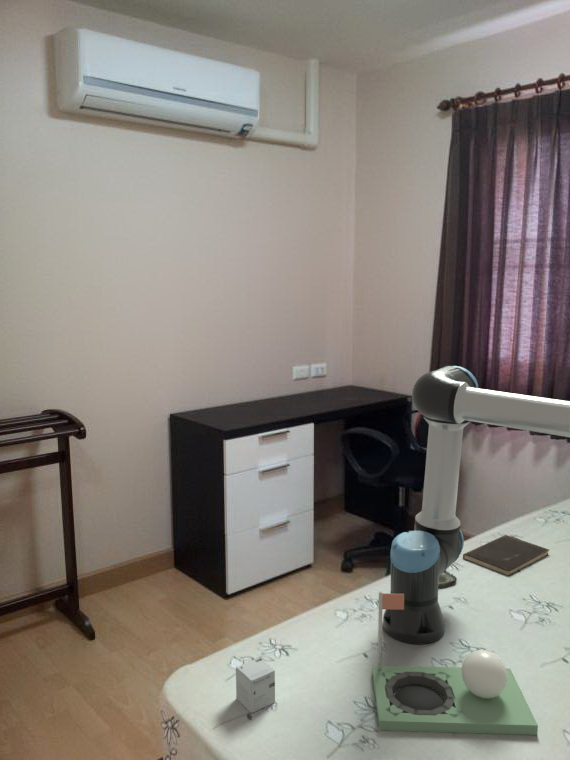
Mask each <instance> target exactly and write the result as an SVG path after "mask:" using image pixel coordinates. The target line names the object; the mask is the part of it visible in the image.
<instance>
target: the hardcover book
mask: <svg viewBox="0 0 570 760" xmlns="http://www.w3.org/2000/svg"><path fill="white" fill-rule="evenodd" d="M549 551H550V549H549V548H546V547H542V546H540V545H537V544H533V543H531V542H528V541H525V540H522V539H519V538H516V537H513V536H511V535H507V534H505V535H503V536H500V537H498V538H496V539H494V540H491V541H489V542H487V543H485V544H482V545H481V546H478V547H476V548H473V549H471V550H469V551H467V552H464V553H463V554H462V559H465V560H467V561H470V562H473V563H475V564H477V565H480V566H483V567H484V568H485V567H486V568H488V569H491V570H493V571H496V572H498V573H501V574H503V575H506V576H509V575H511V574H513V573H516V572H517V571H519V570H522V568H525V567H527V566H529V565H531V564H533V563H535V562H536V561H538V560H540V559H542V558H545V557H546V556H547V555H548V554H549Z"/></svg>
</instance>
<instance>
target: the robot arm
mask: <svg viewBox="0 0 570 760" xmlns="http://www.w3.org/2000/svg"><path fill="white" fill-rule="evenodd" d="M411 398H412V403H413V405H414V407H415V408H416V409H415V410H417V412H419V413H420V414H421V415H422V416H423V419H424V420H425V422H426V423H427V424H428V434H427V445H426V457H425V470H424V481H423V493H422V494H423V495H422V504H421V507H422V508H421V511H419V512H418V513H417V514H416V515H415V518H414V530H408V531H407V532H406V531H403V532H401V533H399V534H397V535H396V536H395V537H394V538H393V540H392V542H391V548H390V552H389V554H390V555H389V556H390V594H404V610H394V609H384V612H383V613H384V614H383V615H382V629H383V630H384V631H385V633H386V634H387V635H389V637H391V638H393V639H395V640H397V641H400V642H403V643H407V644H413V645H414V644H415V645H424V644H431V643H433V642H436V641H439V640H440V639H441V638H442V637H443V635H444V634H445V619H444V617H443V612H442V609H441V607H440V603H439V588H438V580H439V576H440V575H441V574H442V573H443V572H444V571H445V570H446V571H447V570H448V568H450V566H452V565H453V564H454V563H455V562H456V561H457V560H458V559H459V557H460V555H461V554H462V551H463V548H464V543H465V541H464V535H463V532H462V530H461V520H460V519H459V517H457V516H456V509H457V501H458V499H457V498H458V492H459V491H458V489H459V488H458V487H459V479H460V468H461V456H462V446H463V436H464V435H463V434H464V428H465V427H466V426H467V425H469V424H471V422H474V423H480V424H487V425H493V426H498V427H505V428H512V429H516V430H517V429H518V430H523V431H529V432H536V433H539V434H540V433H542V434H548V435H554V436H558V437H565V438H570V400H563V399H555V398H549V397H544V396H543V397H541V396H534V395H527V394H520V393H512V392H505V391H499V390H493V389H492V390H491V389H485V388H479V383H478V381H477V379H476V377H475V376H474V375H473V373H472V372H471V371H470V370H468V369H467V368H465V367H462V366H460V365H459V366H457V365H445V366H443V367H441V368H439V369H436V370H432V371H429V372H426V373H424V374H423V375H421V376H420V377H419V378H418V379H417V380H416V382H415V383H414V385H413V388H412V392H411Z"/></svg>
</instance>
